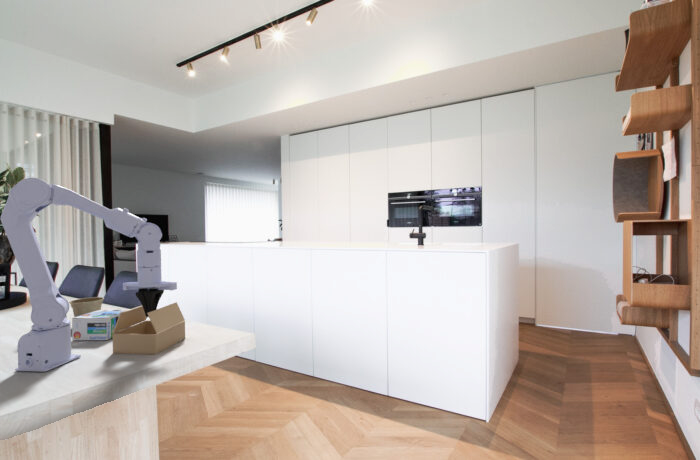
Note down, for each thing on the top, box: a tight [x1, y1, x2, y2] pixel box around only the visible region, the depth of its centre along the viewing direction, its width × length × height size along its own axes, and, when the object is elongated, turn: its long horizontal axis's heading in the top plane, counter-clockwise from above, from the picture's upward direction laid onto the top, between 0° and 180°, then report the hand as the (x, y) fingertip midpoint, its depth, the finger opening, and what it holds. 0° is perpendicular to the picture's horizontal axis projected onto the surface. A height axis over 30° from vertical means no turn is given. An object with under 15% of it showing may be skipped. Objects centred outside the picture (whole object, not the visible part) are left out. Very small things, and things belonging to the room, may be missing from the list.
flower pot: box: [68, 296, 105, 318], centre depth 119 cm, size 9×9×9 cm
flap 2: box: [147, 302, 186, 334], centre depth 97 cm, size 12×6×1 cm
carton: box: [112, 319, 186, 355], centre depth 98 cm, size 13×12×5 cm
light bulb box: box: [71, 309, 129, 341], centre depth 108 cm, size 11×7×11 cm
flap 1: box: [113, 305, 148, 333], centre depth 98 cm, size 12×6×1 cm
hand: (150, 316), depth 98 cm, fingers closed
